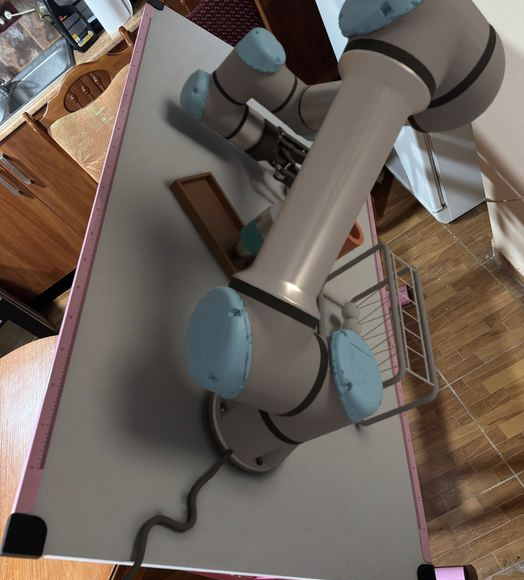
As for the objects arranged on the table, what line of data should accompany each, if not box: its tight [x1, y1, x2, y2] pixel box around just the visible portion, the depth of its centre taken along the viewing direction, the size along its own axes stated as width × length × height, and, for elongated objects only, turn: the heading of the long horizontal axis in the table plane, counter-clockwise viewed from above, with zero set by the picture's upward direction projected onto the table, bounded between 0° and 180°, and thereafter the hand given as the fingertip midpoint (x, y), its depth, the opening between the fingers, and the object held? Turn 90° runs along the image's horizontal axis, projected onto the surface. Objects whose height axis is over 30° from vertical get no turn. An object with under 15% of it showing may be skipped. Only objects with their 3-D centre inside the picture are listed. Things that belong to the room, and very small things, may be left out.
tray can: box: [224, 202, 282, 270], centre depth 96 cm, size 6×6×12 cm
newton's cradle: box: [317, 242, 440, 427], centre depth 104 cm, size 30×10×18 cm, turn 178°
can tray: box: [169, 171, 253, 281], centre depth 99 cm, size 10×27×2 cm, turn 47°
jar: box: [335, 220, 365, 262], centre depth 115 cm, size 7×7×11 cm
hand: (332, 192), depth 122 cm, fingers closed on beverage can, 6 cm apart
